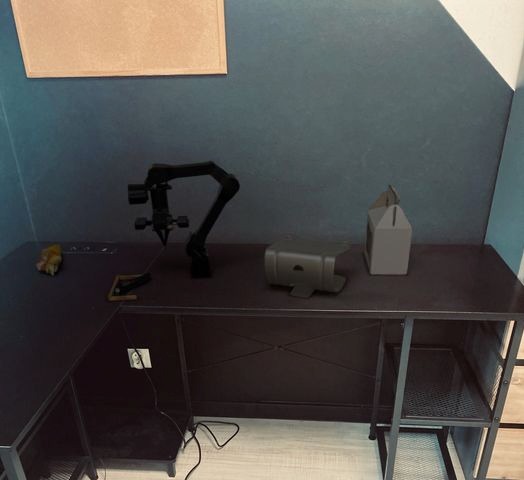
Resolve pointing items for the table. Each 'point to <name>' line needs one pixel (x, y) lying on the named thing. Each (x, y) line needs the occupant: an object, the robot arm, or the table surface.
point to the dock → (118, 278)
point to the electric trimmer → (131, 283)
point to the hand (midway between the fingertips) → (165, 246)
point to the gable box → (387, 236)
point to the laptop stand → (304, 265)
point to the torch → (50, 259)
